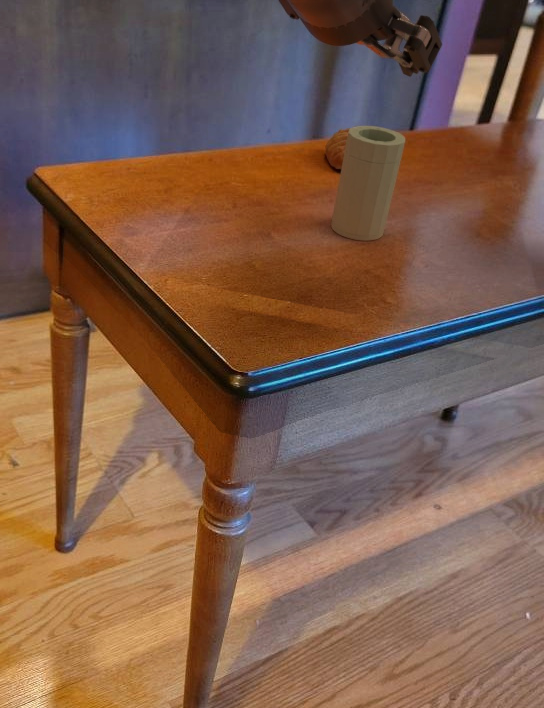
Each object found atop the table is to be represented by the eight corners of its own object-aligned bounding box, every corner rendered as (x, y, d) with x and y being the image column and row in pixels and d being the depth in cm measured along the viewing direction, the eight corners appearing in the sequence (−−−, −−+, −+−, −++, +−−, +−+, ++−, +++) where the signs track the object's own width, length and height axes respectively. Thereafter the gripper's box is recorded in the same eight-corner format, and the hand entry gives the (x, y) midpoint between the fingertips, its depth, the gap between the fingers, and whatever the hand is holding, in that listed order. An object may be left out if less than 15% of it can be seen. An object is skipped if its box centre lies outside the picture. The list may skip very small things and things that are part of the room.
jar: (384, 223, 89) (406, 131, 83) (381, 245, 84) (404, 148, 78) (333, 214, 90) (351, 122, 83) (328, 235, 85) (346, 138, 78)
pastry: (371, 178, 101) (376, 150, 99) (322, 171, 102) (326, 143, 99) (370, 155, 109) (375, 129, 106) (324, 149, 109) (328, 123, 107)
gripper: (446, -48, 52) (461, 36, 67) (274, -111, 56) (325, -18, 71) (395, 58, 54) (420, 116, 69) (231, -10, 57) (290, 60, 73)
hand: (372, 48), depth 70 cm, fingers open, 8 cm apart
